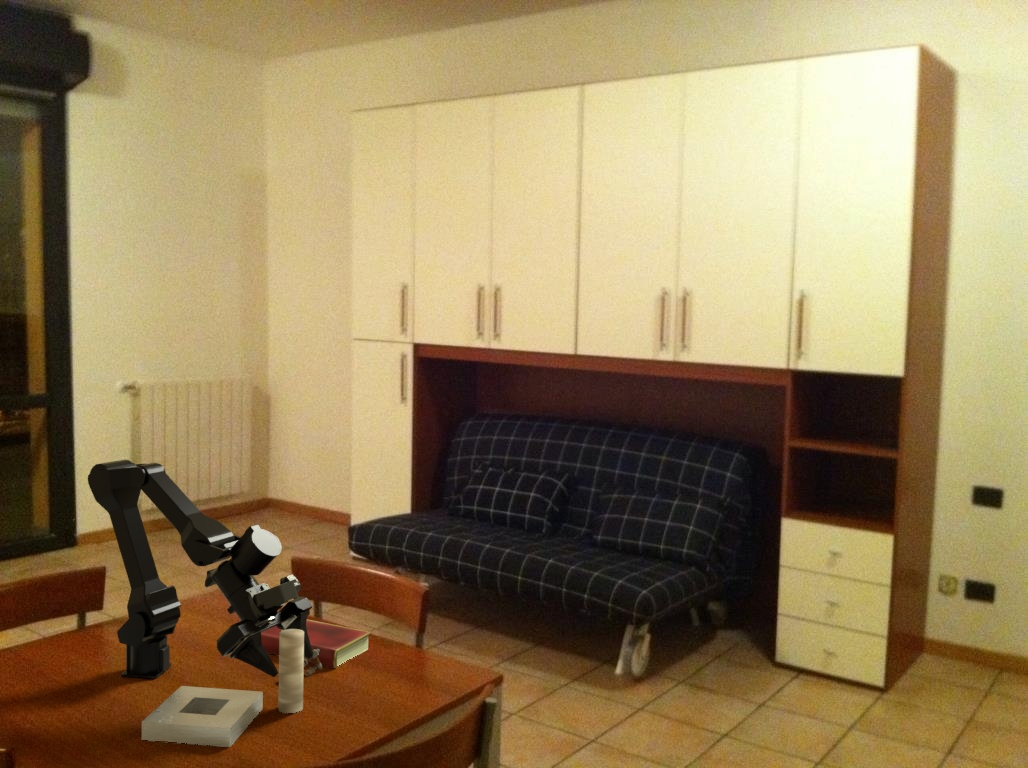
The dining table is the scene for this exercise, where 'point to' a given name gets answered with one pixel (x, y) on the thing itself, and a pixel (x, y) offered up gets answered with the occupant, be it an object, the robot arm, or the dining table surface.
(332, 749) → the dining table surface
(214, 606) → the dining table surface
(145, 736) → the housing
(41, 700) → the dining table surface
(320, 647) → the hardcover book
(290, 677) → the ball
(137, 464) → the robot arm
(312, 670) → the wooden post with brackets
